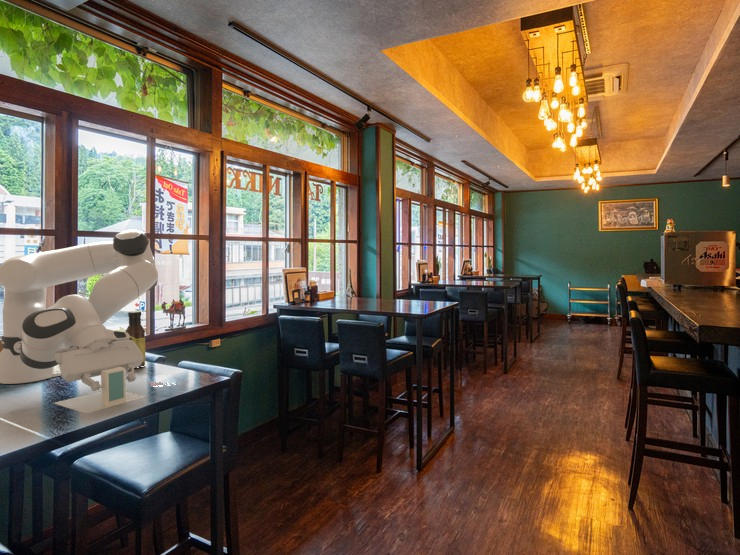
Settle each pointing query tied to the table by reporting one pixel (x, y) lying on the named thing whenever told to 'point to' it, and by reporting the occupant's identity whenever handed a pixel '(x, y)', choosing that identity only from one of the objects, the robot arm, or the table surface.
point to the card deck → (113, 386)
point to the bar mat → (92, 402)
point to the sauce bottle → (137, 332)
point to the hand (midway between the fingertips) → (115, 384)
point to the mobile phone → (157, 384)
